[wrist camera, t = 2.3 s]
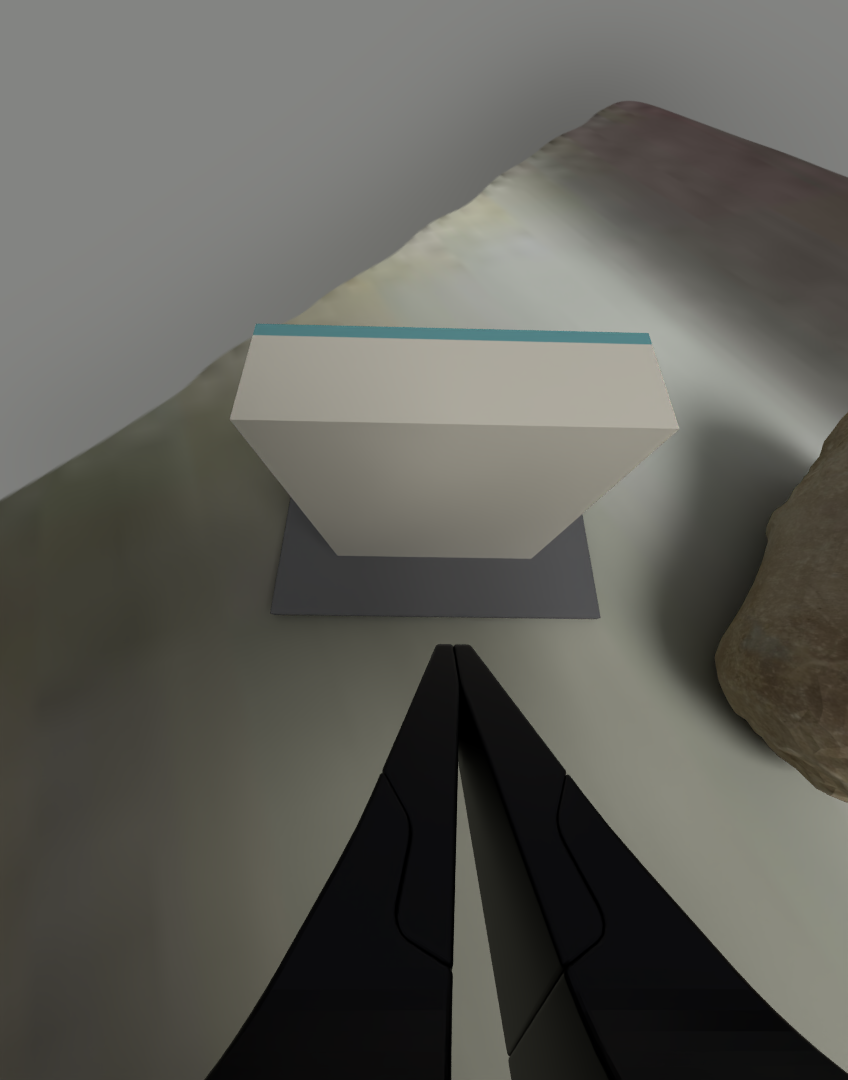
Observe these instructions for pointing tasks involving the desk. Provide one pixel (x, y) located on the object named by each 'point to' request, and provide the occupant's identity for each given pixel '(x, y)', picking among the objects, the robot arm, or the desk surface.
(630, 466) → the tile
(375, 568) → the mat
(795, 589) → the sculpture
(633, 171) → the desk surface
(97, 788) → the desk surface
